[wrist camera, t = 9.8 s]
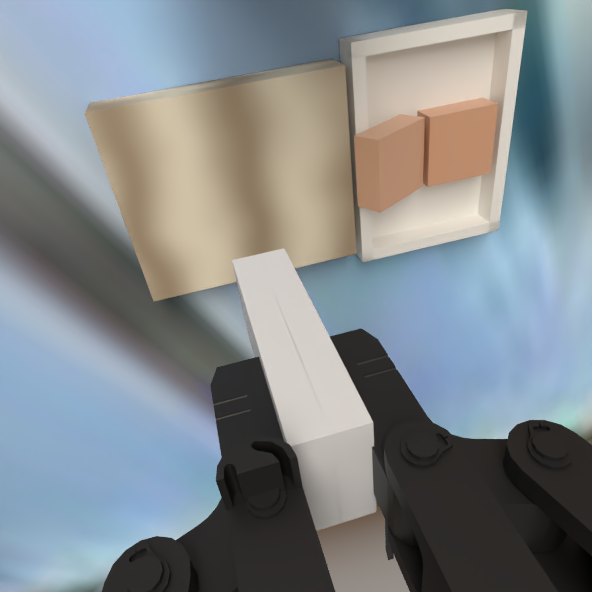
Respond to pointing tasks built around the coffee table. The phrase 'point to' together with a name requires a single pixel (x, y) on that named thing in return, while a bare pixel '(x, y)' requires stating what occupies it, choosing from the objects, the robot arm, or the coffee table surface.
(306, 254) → the board
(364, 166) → the tile front
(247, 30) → the coffee table surface
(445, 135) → the tile rear
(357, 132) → the tray
